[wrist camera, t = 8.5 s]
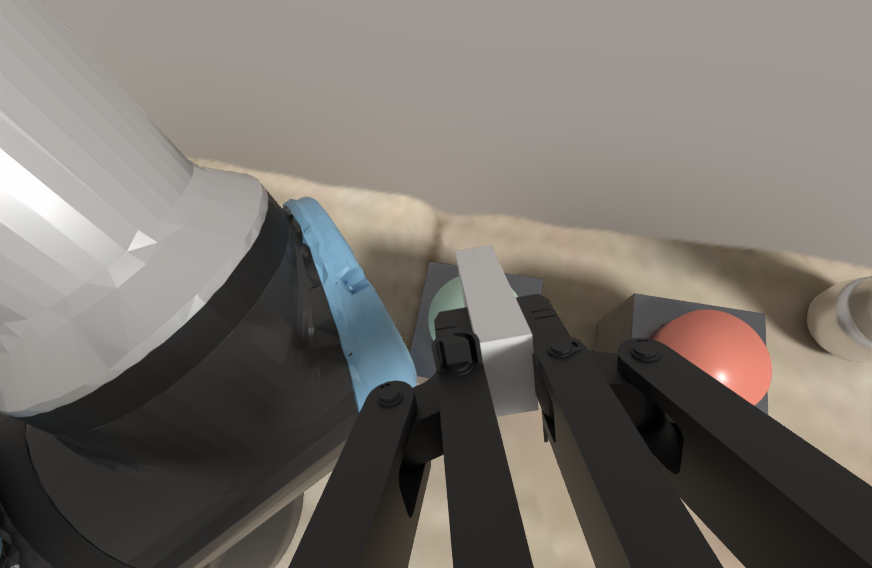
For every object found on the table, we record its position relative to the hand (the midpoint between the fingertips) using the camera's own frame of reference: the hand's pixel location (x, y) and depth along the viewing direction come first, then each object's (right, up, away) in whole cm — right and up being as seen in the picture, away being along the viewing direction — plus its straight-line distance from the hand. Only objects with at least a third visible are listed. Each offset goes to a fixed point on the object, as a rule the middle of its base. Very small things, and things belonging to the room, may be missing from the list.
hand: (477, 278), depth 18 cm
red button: (+15, -8, +16) cm, 23 cm away
